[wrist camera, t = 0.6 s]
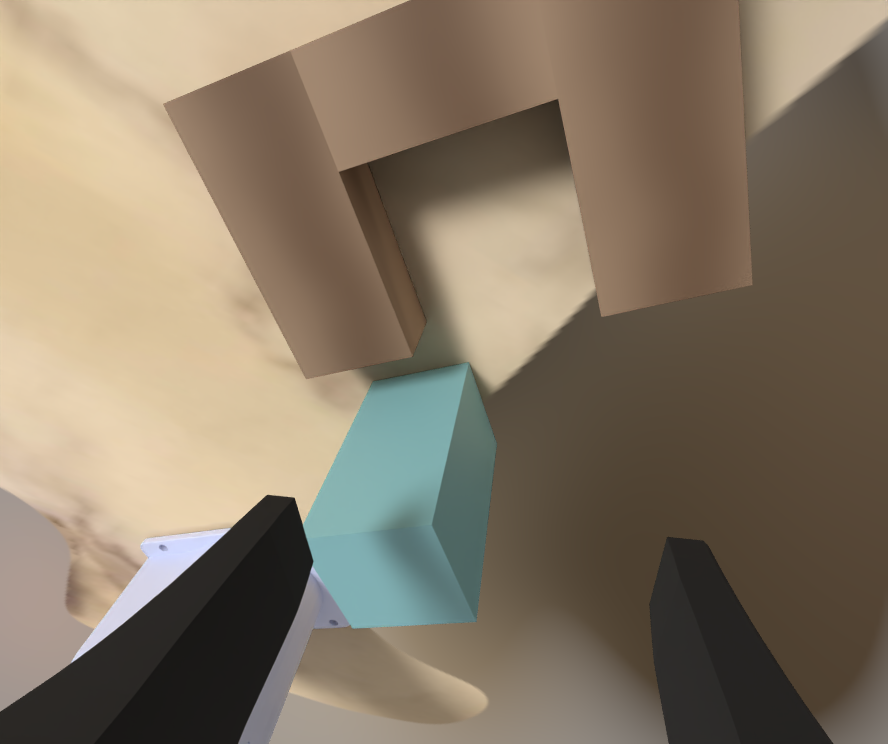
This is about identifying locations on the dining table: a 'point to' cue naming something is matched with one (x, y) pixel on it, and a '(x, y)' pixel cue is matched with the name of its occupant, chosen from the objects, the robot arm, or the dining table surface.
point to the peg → (408, 503)
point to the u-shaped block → (462, 107)
